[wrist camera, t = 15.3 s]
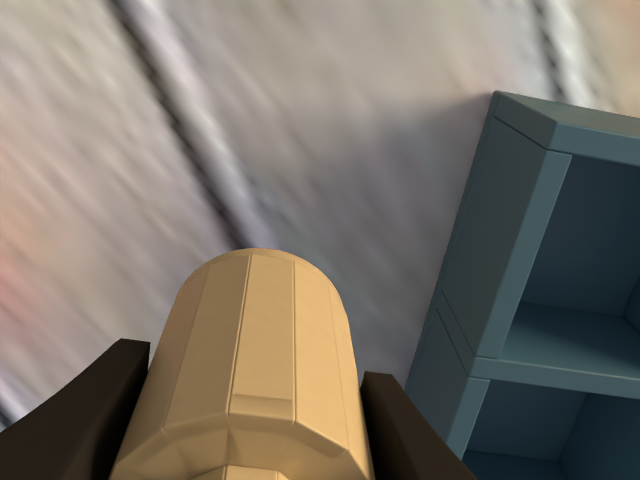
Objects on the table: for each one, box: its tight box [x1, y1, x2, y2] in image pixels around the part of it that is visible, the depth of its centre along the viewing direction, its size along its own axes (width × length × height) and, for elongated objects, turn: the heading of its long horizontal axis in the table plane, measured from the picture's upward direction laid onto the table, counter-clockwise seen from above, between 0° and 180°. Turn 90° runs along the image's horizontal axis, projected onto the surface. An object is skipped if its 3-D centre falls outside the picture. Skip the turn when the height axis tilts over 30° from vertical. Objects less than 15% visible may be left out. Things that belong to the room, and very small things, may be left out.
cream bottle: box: [108, 248, 375, 480], centre depth 12 cm, size 4×5×8 cm
